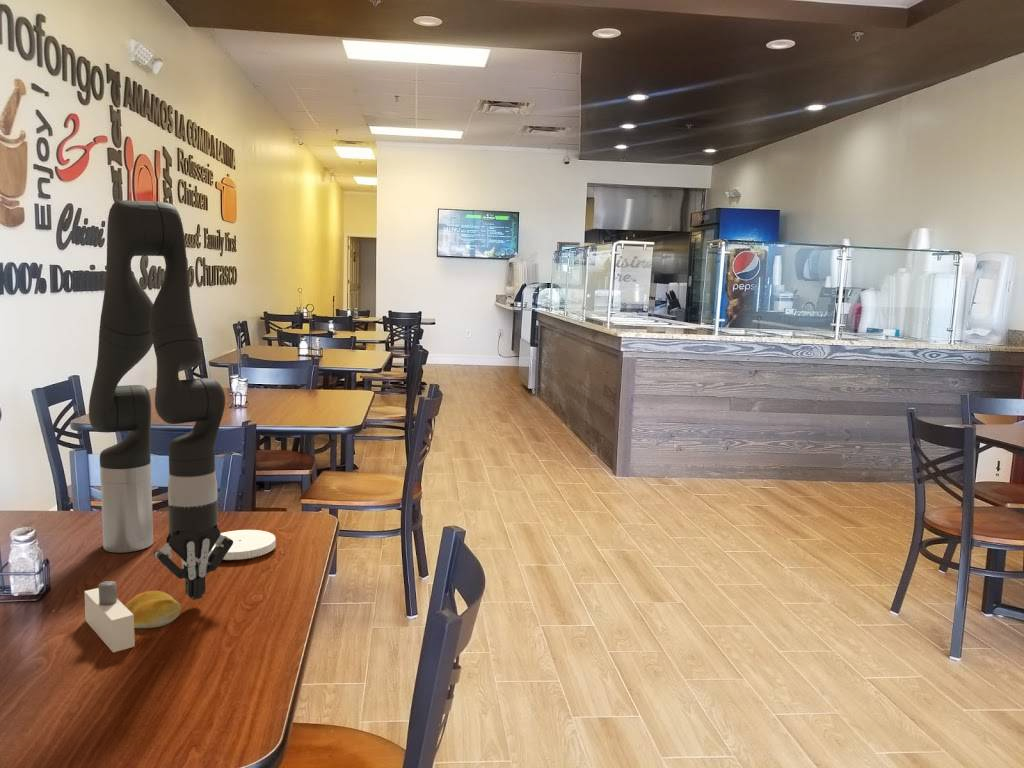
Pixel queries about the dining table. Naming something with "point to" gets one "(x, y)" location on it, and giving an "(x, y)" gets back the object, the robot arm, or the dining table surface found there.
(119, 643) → the bench stop
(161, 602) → the bread roll
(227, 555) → the plastic lid
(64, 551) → the dining table surface
